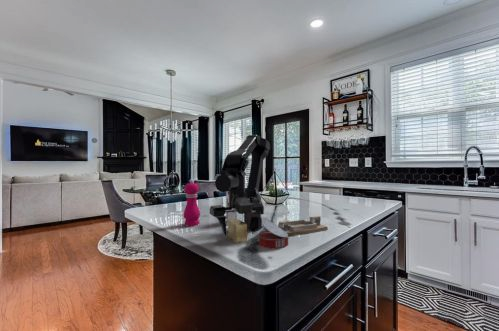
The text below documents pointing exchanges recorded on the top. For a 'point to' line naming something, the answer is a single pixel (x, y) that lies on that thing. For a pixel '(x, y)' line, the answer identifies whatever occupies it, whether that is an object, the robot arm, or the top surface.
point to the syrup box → (232, 215)
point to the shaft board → (302, 226)
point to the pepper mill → (191, 204)
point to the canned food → (272, 236)
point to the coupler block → (237, 230)
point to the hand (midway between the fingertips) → (237, 232)
